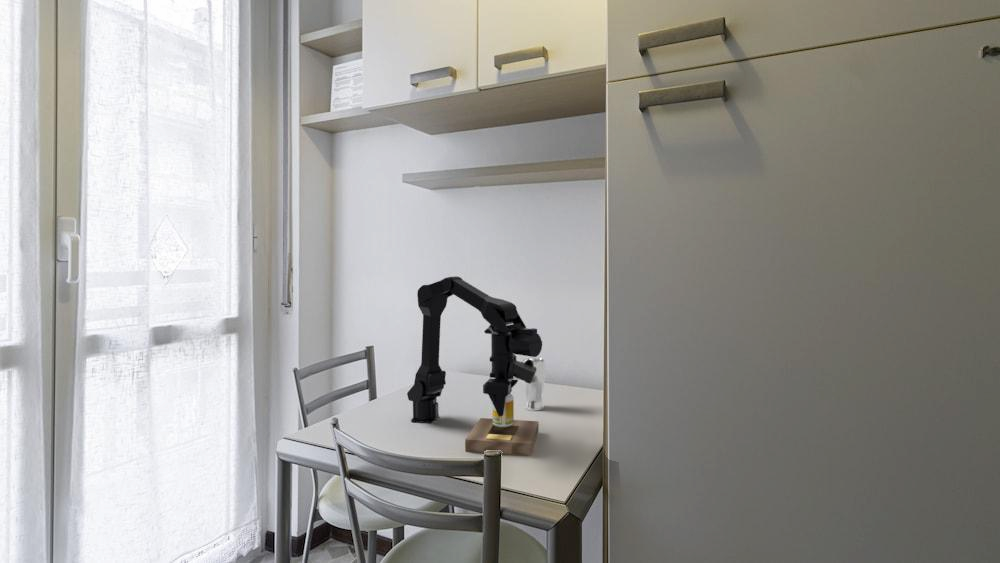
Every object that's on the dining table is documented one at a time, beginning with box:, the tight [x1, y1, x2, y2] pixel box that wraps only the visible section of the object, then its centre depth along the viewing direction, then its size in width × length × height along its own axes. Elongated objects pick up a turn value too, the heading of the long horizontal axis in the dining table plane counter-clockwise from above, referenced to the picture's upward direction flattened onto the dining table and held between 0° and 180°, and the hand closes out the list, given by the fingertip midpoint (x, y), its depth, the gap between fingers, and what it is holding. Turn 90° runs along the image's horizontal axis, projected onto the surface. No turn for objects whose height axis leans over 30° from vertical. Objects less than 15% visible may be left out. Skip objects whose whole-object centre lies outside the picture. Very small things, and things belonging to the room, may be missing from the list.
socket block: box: [464, 417, 540, 457], centre depth 129 cm, size 16×16×3 cm
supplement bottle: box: [492, 393, 515, 427], centre depth 129 cm, size 5×5×10 cm
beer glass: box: [522, 357, 546, 412], centre depth 157 cm, size 7×7×15 cm
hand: (503, 412), depth 129 cm, fingers closed on supplement bottle, 5 cm apart
